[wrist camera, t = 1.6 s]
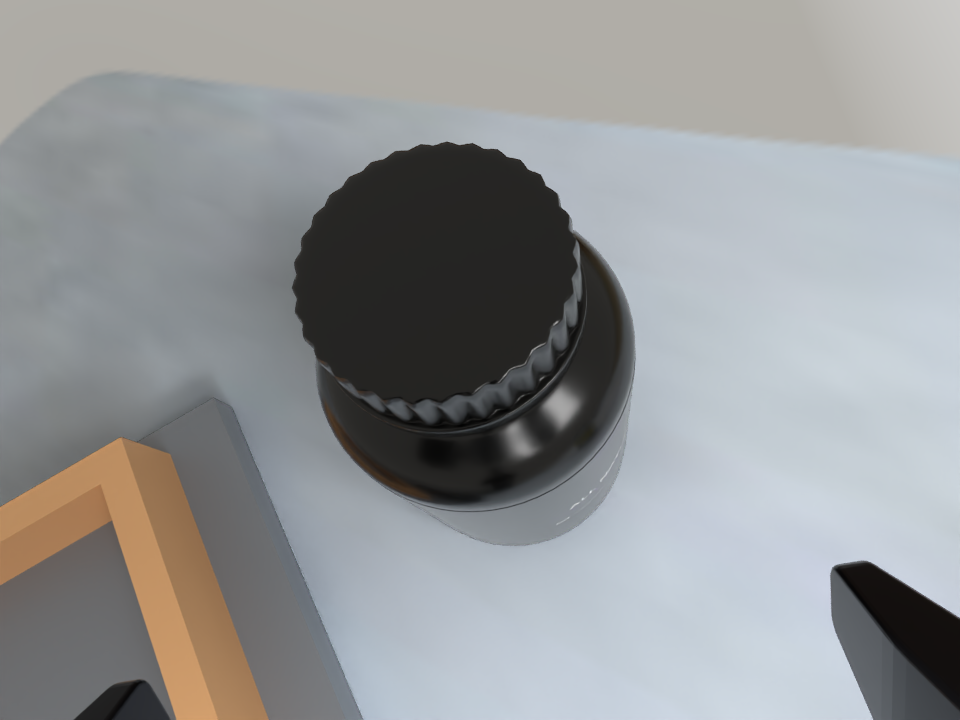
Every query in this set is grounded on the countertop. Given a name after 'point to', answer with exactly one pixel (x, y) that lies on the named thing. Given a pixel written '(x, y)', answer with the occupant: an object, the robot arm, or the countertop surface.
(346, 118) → the countertop surface
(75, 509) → the housing
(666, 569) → the countertop surface
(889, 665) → the robot arm
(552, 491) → the supplement bottle
